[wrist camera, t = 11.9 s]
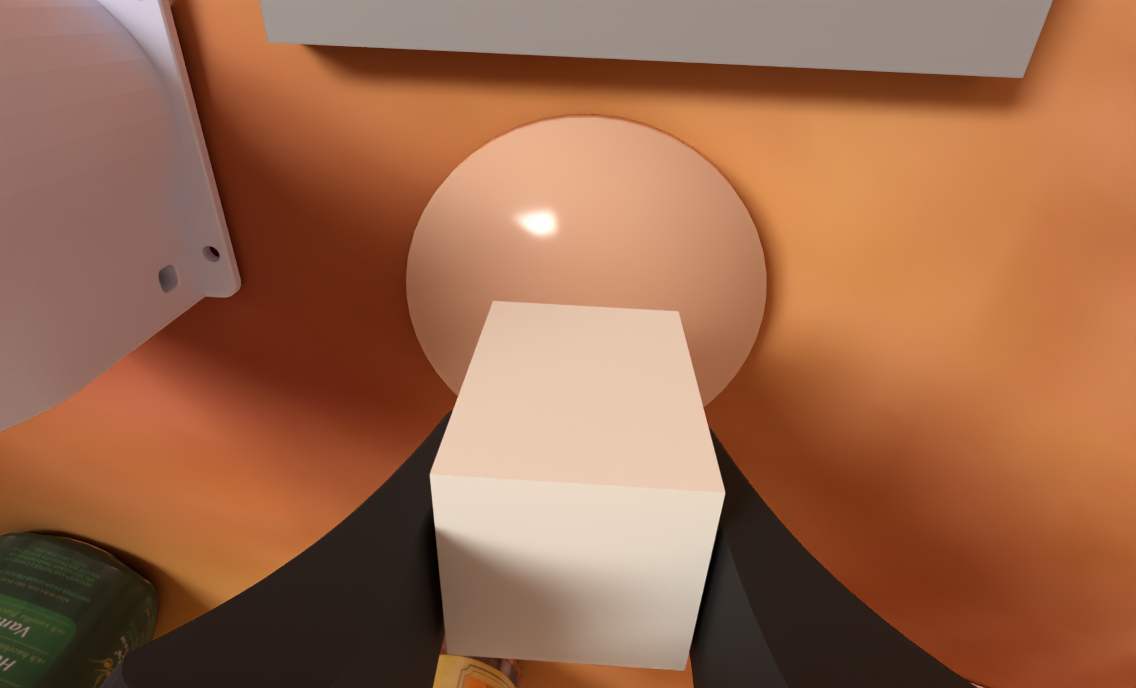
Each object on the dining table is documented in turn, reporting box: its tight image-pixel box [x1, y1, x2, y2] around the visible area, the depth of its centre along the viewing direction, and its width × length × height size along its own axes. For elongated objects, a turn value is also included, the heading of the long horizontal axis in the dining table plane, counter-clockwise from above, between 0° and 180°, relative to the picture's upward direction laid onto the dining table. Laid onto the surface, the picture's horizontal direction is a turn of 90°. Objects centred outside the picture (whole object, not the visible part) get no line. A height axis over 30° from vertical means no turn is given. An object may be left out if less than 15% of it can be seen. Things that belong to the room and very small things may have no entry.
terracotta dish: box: [406, 114, 767, 407], centre depth 19 cm, size 11×11×1 cm
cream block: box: [430, 301, 725, 671], centre depth 11 cm, size 4×4×6 cm
